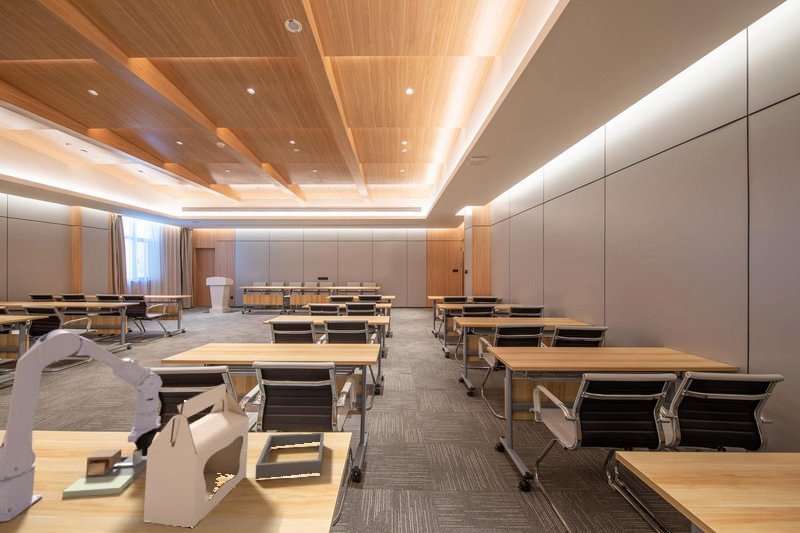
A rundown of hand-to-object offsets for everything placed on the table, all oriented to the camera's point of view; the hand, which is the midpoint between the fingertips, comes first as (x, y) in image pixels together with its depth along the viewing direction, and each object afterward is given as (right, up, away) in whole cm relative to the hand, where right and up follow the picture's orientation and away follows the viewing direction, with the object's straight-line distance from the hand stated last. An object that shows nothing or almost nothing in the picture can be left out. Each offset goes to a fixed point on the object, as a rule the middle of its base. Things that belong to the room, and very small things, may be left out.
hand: (143, 455), depth 106 cm
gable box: (+27, -3, -15) cm, 31 cm away
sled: (-3, -1, -6) cm, 7 cm away
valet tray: (+46, -4, +4) cm, 46 cm away
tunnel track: (-4, -2, -7) cm, 8 cm away
